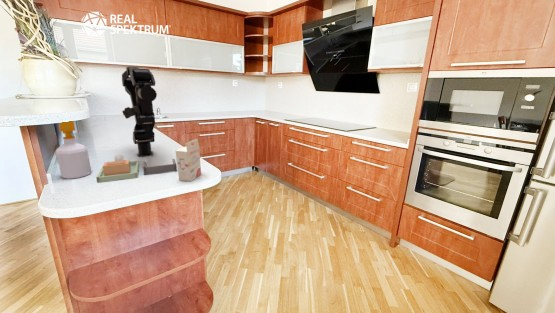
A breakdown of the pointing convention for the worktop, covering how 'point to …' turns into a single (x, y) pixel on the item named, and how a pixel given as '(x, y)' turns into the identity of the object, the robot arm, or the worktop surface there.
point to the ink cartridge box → (188, 161)
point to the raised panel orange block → (117, 166)
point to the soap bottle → (72, 154)
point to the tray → (133, 174)
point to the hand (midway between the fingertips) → (149, 136)
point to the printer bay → (159, 168)
